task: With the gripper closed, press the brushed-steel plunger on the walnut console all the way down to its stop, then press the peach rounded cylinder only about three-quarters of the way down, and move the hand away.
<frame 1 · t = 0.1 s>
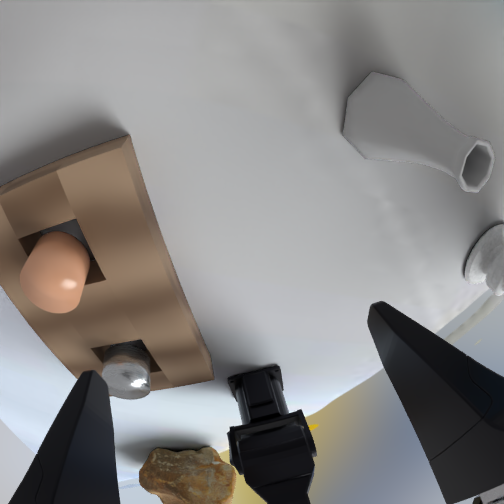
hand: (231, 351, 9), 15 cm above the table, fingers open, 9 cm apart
peach rounded cylinder: (55, 272, 18), point 4 cm above the table, slide at 0.0 cm
table lamp: (485, 251, 34), on the table
flask: (381, 116, 21), on the table
steel plunger: (126, 372, 25), point 4 cm above the table, slide at 0.0 cm
rough brown rock: (178, 453, 51), on the table
console: (102, 293, 25), on the table
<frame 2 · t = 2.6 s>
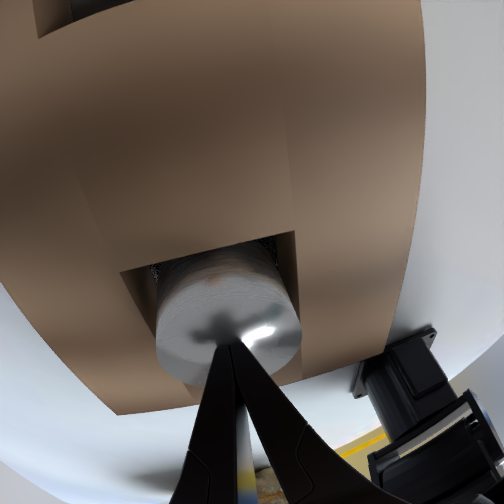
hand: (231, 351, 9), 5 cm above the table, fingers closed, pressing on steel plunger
steel plunger: (223, 313, 10), point 3 cm above the table, slide at 1.4 cm, touching gripper
rough brown rock: (223, 478, 35), on the table
console: (176, 112, 9), on the table
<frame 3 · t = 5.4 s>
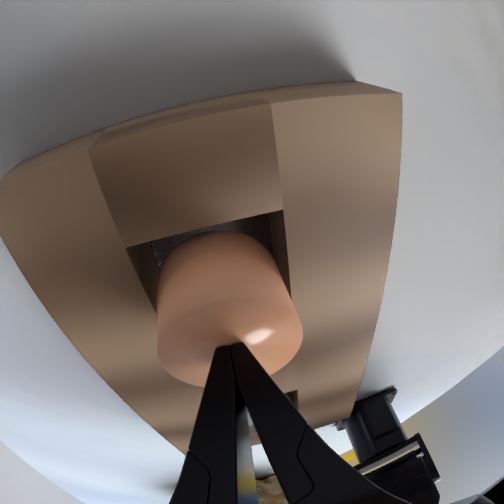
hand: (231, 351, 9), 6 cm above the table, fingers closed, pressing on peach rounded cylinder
peach rounded cylinder: (224, 312, 10), point 4 cm above the table, slide at 0.2 cm, touching gripper
steel plunger: (256, 402, 19), point 2 cm above the table, slide at 2.5 cm
rough brown rock: (237, 483, 43), on the table
console: (235, 329, 17), on the table
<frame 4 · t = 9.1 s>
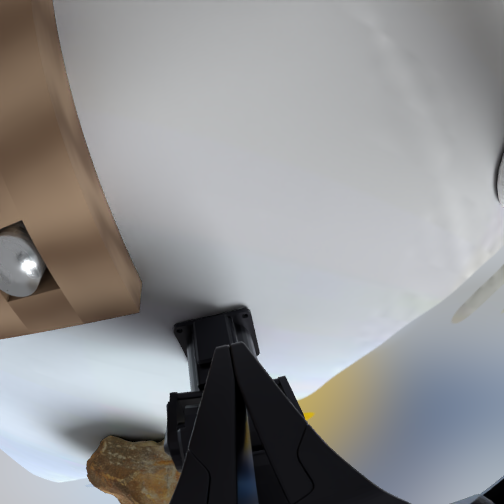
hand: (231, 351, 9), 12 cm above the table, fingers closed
steel plunger: (18, 255, 16), point 2 cm above the table, slide at 2.5 cm
rough brown rock: (138, 445, 40), on the table
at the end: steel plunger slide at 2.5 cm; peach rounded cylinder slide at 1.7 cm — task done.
